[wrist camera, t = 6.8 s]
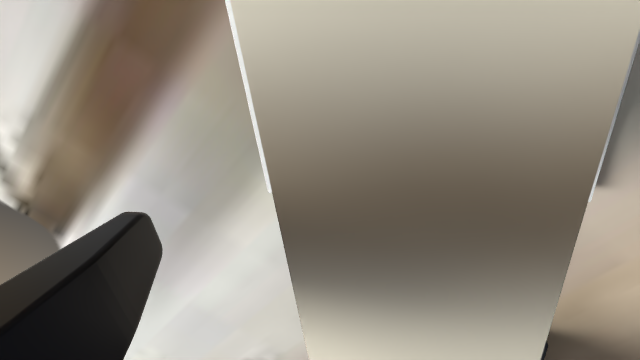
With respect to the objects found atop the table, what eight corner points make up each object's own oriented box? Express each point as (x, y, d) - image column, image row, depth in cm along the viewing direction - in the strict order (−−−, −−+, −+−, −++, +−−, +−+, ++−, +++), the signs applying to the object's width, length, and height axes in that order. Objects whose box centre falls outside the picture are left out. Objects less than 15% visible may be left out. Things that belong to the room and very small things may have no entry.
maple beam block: (490, 235, 15) (520, 427, 10) (350, 229, 16) (317, 402, 11) (568, -294, 8) (793, -485, 3) (304, -247, 9) (157, -333, 4)
